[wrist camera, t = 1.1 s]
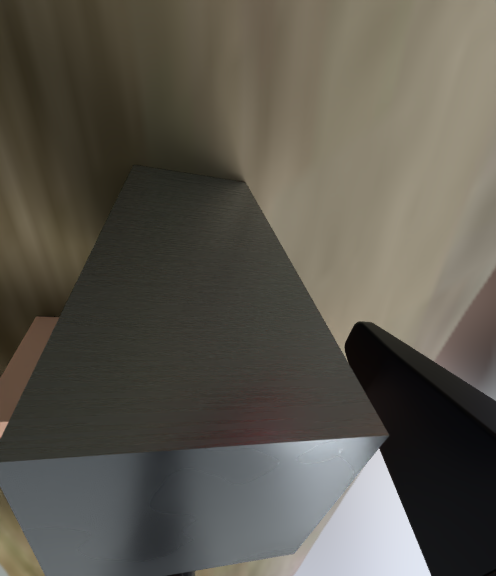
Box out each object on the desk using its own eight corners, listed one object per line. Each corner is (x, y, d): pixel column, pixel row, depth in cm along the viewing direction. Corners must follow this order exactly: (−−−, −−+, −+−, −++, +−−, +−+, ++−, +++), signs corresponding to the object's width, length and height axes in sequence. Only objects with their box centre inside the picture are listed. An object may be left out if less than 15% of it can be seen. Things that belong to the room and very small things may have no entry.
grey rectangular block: (228, 271, 14) (294, 553, 6) (133, 264, 13) (54, 594, 5) (245, 182, 12) (389, 435, 4) (133, 164, 11) (-12, 463, 3)
